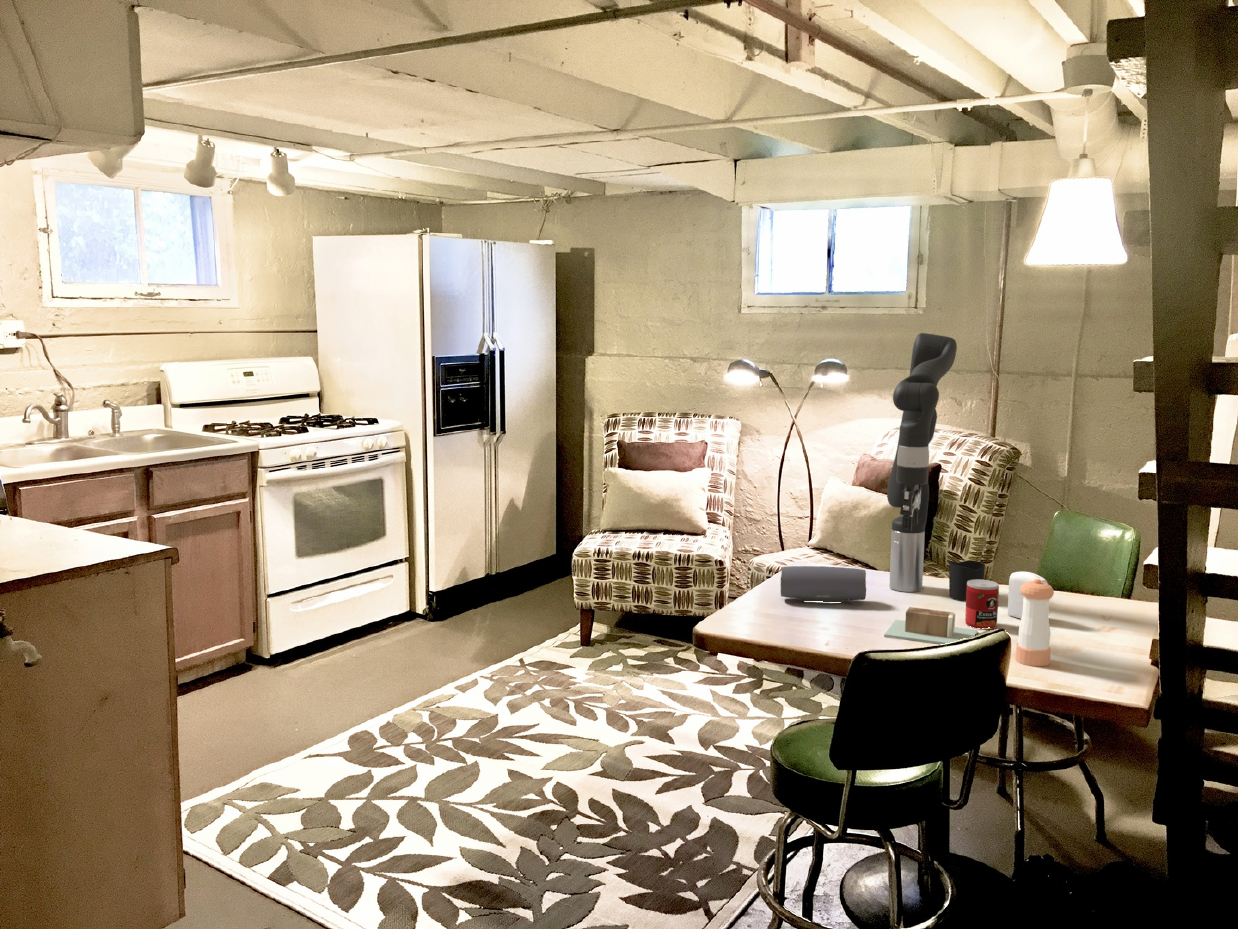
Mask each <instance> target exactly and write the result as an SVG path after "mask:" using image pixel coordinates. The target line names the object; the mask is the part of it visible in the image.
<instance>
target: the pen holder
mask: <svg viewBox="0 0 1238 929" xmlns="http://www.w3.org/2000/svg"><path fill="white" fill-rule="evenodd" d="M985 568H986V564H985V562H982V561H979V560H972V559H968V560H964V561H963V560H962V561H960V562H959V561H958V562H956V561H953V560H950V561H949V570H948V571H949V572H948V575H949V579H948V581H949V582H948V584H949V586H948V588H949V590H948V594H949V598H950V599H952V600H955V601H957V602H964V601H966V591H967V582H968V581H969V580H975V579H981V580H985V571H986V570H985Z"/></svg>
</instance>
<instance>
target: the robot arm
mask: <svg viewBox="0 0 1238 929" xmlns="http://www.w3.org/2000/svg"><path fill="white" fill-rule="evenodd" d="M957 345H958V344H957V341H956V339H954V338H953V337H950V336H947V335H946V336H945V335H941V334H940V335H939V334H934V333H925V332H920V333H919V334H917V336H916V338H915V339H914V342H913V346H912V353H911V360H910V368H909V369H910V370H909V375H908V377H905V378H904V379H902V380H901V381H900V382H899V383H898V384H897V385H896V386H895V387H894V390H893V395H892V403H893V405H894V406H895V408H897V409H898V410H899V411H902V415H901V422H900V426H899V435H898V440H897V446H896V452H895V455H894V460H893V464H892V467H891V471H890V475H889V478H888V483H887V487H886V488H887V490H886V498H887V502H888V504H889V505H890V506H891V507H893V508H900V512H899V514H900V516H898V517H896V518H893V520H892V522H891V532H890V534H891V538H890V540H891V542H890V559H889V560H890V563H889V589H890V590H891V589H892V590H894V591H898V592H907V593H908V592H909V593H915V592H920V591H922V590H923V577H924V556H925V554H924V553H925V534H926V533H925V532H926V525H927V521H928V520H927V519H928V511H929V510H928V508H929V499H930V486H929V471H930V470H929V469H930V465H929V464H930V448H929V444H930V443H931V442H932V440H933V438H934V435H935V430H936V426H937V425H936V424H937V420H938V413H937V409H936V408H937V406H938V402H939V398H940V392H939V389H938V387H937V386H938V384H939V381H941V379H942V378H943V377H944V376H946V374H947V373H948V372H949V371H950V369H952V367H953V365H954V362H955V359H956V357H957V356H956V355H957V350H958V349H957V347H958V346H957Z"/></svg>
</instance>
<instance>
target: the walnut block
mask: <svg viewBox="0 0 1238 929" xmlns="http://www.w3.org/2000/svg"><path fill="white" fill-rule="evenodd" d="M904 621H905V632H912V633H919V634H927V635H934V636H942V637H949V638H951V637H952V636H953V634H954V629H955V627H956V612H954V611H945V610H938V609H930V608H920V607H914V606H913V607H912V606H909V607H908V609H906V611H905V620H904Z"/></svg>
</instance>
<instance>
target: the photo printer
mask: <svg viewBox="0 0 1238 929" xmlns="http://www.w3.org/2000/svg"><path fill="white" fill-rule="evenodd" d="M1034 579H1040V580H1041V582H1044V583H1047V584H1048V585H1049V583H1048V580H1046V578H1044V577H1043V576H1040V575H1038V574H1036V573H1034V572H1030V571H1015V572H1012V573H1011V574H1010V576H1009V579H1008V594H1007V595H1008V597H1007V615H1008V616H1010V617H1014V618H1017V619H1020V620H1021V618H1022V613H1023V598H1024V596H1023V595H1022V594H1021V592H1020V589H1021V586H1022V585H1023V584H1024V583H1026V582H1029V581H1034Z"/></svg>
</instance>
